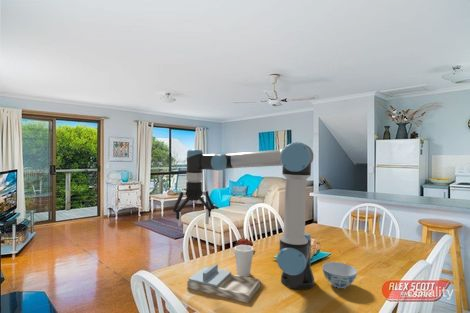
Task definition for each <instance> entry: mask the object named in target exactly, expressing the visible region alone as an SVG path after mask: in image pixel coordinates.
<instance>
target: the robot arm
mask: <svg viewBox="0 0 470 313" xmlns="http://www.w3.org/2000/svg"><path fill="white" fill-rule="evenodd" d="M313 160H314V152H313V150H312V148H311V147H310V146H309V145H307V144H304V142H300V141H299V142H298V141H296V142H291V143H289V144H287V145H285V146H284V147H282V149H276V150H275V149H273V150H261V151H249V152H247V151H245V152H236V153H235V152H234V153H203V150H202V149H188V150H187V152H186V183H185V184H186V186H185V187H186V189H185V192H184V191H179V193H178V197H177V200H175V203H174V205H173V207H172V212H174V213H175V214H176V215H175V217H176V218H175V219H176V220H178V221H177V226H178V227H179V228H180V227H182V213H181V211H182V210H183V209H184V207H185V206H186V205H187V204H188V202H193V201H196V202H197V201H199V202H200V203H202V205H203V206H204V207H205V208H206V210H205V224H206V225H209V218H211V215H212V214H211V211H212V210H215V206H214V204H213V202H212V200H211V198H210V195H209V191H208V190H203V170H206V171H207V170H209V171H223V170H227V169H239V168H240V169H242V168H243V169H244V168H245V169H246V168H261V167H262V168H263V167H279V166H281V167H282V168H281V169H282V173H281V175H282V176H283V177H284V178H285V191H284V192H285V193H284V194H285V195H284V213H283V214H284V216H283V217H284V219H283V234H282V235H281V236H280V238H279V250H278V253H277V255H276V263H277V266H278V267H279V269H280V270H281V271H282V272H281V275H280V276H281V277H280V281H281V283H282V285H284V286H286V287H287V288H290V289H295V290H309V289H311V288H313V287H314V286H315V276H314V274H313V270H312V268H311V267H312V266H311V264H312V262H311V260H312V259H311V254H312V252H311V251H312V236H311V235H310V233H307V232H306V228H305V227H306V211H307V210H306V205H307V204H306V203H307V182H308V181H307V180H308V179H309V178H310V177H311V174H312V164H313ZM203 195H204V197H205V198H206V201H207V202H205V200H204V199H203V197H202V196H203ZM184 196H185V197H186V198H185V199H184V200H183V201H182V199H183V197H184ZM181 201H182V202H181ZM207 203H208V204H207Z"/></svg>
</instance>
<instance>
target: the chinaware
mask: <svg viewBox="0 0 470 313" xmlns="http://www.w3.org/2000/svg"><path fill="white" fill-rule="evenodd" d="M321 266H322V267H321V268H322V273H323V275H324V277H325V278H326V280H327V281H328V282H329V283H330V285H331V286H332V285H333V288H336V287H337V288H336V289H339V288H344V289H347V288H346V287H348V286H350V285H351V284H353V283H354V281H355V280H356V278H357V275H358V270H357V269H356V267H354V266H352V265H350V264H347V263H343V262H336V261H327V262H325V263H323V264H322V265H321Z"/></svg>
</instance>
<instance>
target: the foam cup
mask: <svg viewBox="0 0 470 313" xmlns="http://www.w3.org/2000/svg"><path fill="white" fill-rule="evenodd" d="M233 253H234V257H235V266H236V273H237V274H236V275H240V276H245V277H249V276H251V269H252V264H253V262H252V261H253V255H254V247H253V246H249V245H238V246H236V245H235V246H234V252H233Z"/></svg>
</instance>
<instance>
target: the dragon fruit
mask: <svg viewBox="0 0 470 313" xmlns="http://www.w3.org/2000/svg"><path fill="white" fill-rule="evenodd" d="M238 245H249V246H252V247H253V246H254V243H253V241H251V240H249V239H248V238H247V237H246V238H244V237H243V238H239V239H237V241H235V247H236V246H238Z"/></svg>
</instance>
